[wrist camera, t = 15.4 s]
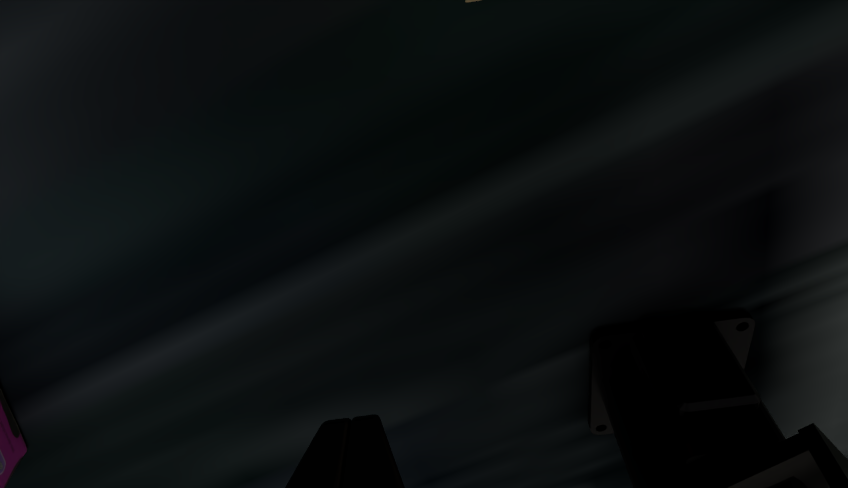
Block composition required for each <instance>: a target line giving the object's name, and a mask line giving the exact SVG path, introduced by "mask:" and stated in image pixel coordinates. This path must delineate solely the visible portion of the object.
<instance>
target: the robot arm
mask: <svg viewBox="0 0 848 488" xmlns="http://www.w3.org/2000/svg"><path fill="white" fill-rule="evenodd" d="M754 328H755V321H754V320H753V318H752V317H751V315H750V314H749V313H748V312H746V311H736V312H728V313H720V314H713V315H705V316H698V317H690V318H683V319H675V320H668V321H660V322H653V323H645V324H637V325H630V326H622V327H615V328H607V329H601V330H598V331H596V332H594V333H593V334H592V336H591V338H590V368H589V409H588V423H589V427H590V430H591V432H592V433H593V434H596V435H603V434H612V433H614V434H615V437H616V439H617V442H618V445H619V448H620V451H621V454H622V456H623V459H624V462H625V465H626V468H627V471H628V474H629V476H630V479H631V482H632V485H633V488H848V459H847V458H846V457H845V456H844V455H843V454H842V453H841V452H840V451H839V450H838V449H837V448H836V447H835V446H834V444H833V443H832V442H831V441H830V440H829V439H828V438H827V437H826V436H825V435H824V434H823V433H822V432H821V431H820V429H819V428H818V427H817V426H816V425H815V424H814V423H812V424H810V425H808V426H806V427H804V428H802V429H800V430H798V432H799V433H798V434H796V435H794V436H792V437H790V438H788V439H785V437H784V436H783V434H782V432H781V431H780V429H779V428H778V426H777V424H776V423H775V421H774V420H773V418H772V416H771V415H770V413H769V411H768V410H767V408H766V407H765V405H764V403H763V402H762V400H761V399H760V395H759V394H758V392H757V390H756V389H755V387H754V386H753V384H752V382H751V381H750V379H749V378H748V376H747V374H746V373H745V371H744V368H745V364H746V360H747V356H748V352H749V348H750V344H751V340H752V336H753V332H754ZM605 340H606V341H605ZM602 341H604V342H602ZM285 488H405V487H404V485H403V482H402V479H401V476H400V473H399V470H398V468H397V465H396V462H395V459H394V456H393V454H392V451H391V448H390V445H389V442H388V439H387V437H386V434H385V431H384V428H383V425H382V423H381V420H380V418H379V416H378V415H366V416H359V417H355V418H353V419H352V421H351V419H349V418H343V419H335V420H328V421H325V422H324V423H323V424H322V425H321V426H320V428H319V430H318V431H317V433H316V435H315V437H314V438H313V440H312V442H311V444H310V445H309V447H308V449H307V451H306V452H305V454H304V456H303V458H302V459H301V461H300V463H299V464H298V466H297V468H296V470H295V471H294V473H293V475H292V477H291V478H290V480H289V482H288V484H287V485H286V487H285Z"/></svg>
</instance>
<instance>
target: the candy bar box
mask: <svg viewBox="0 0 848 488" xmlns="http://www.w3.org/2000/svg"><path fill="white" fill-rule="evenodd" d="M26 451H27V447H26V444H25V441H24V439H23V437H22V434H21V432H20V430H19V428H18V425H17V423H16V421H15V419H14V417H13V414H12V412H11V410H10V408H9V406H8V404H7V402H6V399H5V397H4V395H3V392H2V390H1V388H0V488H5V487H6V486H7V484H8V482H9V480H10V478H11V476H12V475H13V473H14V472H15V470H16V468H17V466H18V464H19V463H20V461H21V459H22V458H23V456H24V455H25V453H26Z"/></svg>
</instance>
